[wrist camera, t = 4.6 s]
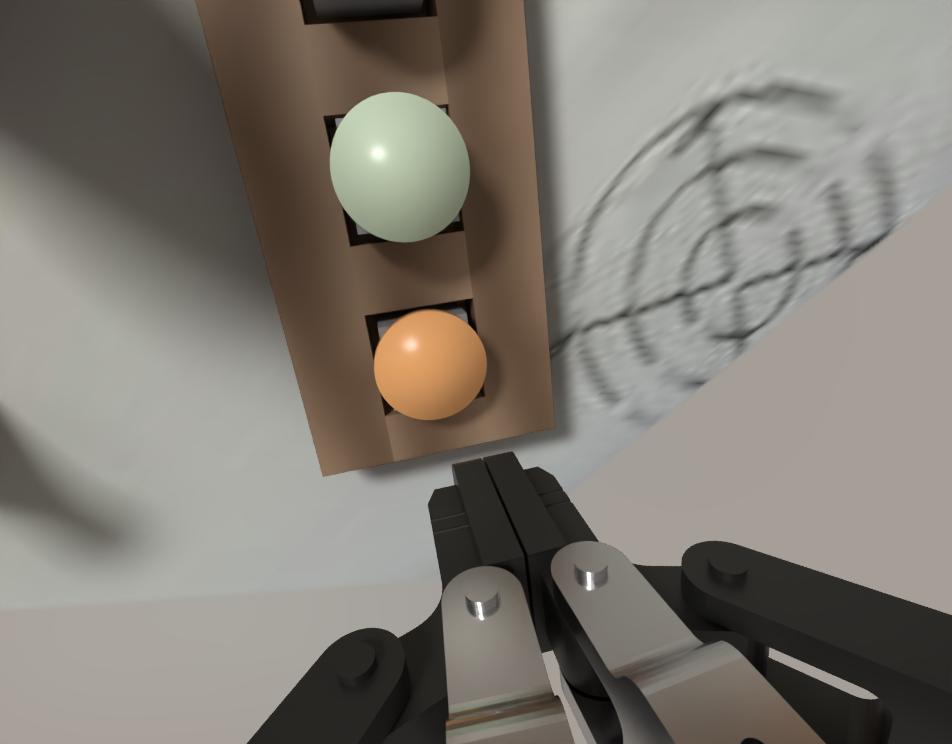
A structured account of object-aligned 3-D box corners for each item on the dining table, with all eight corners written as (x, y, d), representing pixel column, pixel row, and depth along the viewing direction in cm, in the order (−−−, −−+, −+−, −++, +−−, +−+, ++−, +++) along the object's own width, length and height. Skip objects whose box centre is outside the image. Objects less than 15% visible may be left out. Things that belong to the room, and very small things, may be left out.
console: (485, -181, 19) (505, -250, 16) (536, 406, 28) (554, 427, 25) (166, -181, 17) (126, -259, 14) (328, 448, 26) (322, 476, 23)
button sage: (445, 109, 20) (460, 85, 16) (460, 230, 22) (477, 232, 18) (325, 120, 19) (314, 98, 16) (351, 245, 21) (346, 251, 17)
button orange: (464, 291, 24) (479, 303, 20) (476, 382, 26) (492, 408, 22) (365, 306, 23) (363, 322, 20) (384, 399, 25) (385, 429, 21)
